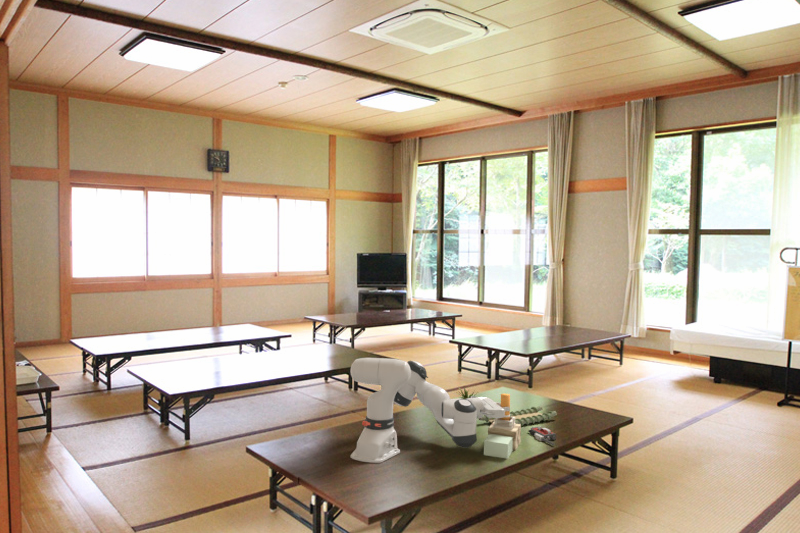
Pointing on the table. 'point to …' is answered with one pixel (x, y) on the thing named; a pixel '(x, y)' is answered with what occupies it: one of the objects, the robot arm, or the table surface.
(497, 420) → the tan stepped block
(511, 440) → the block
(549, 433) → the walkie-talkie
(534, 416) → the stretcher
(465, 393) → the house plant
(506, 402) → the orange cylinder
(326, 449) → the table surface
